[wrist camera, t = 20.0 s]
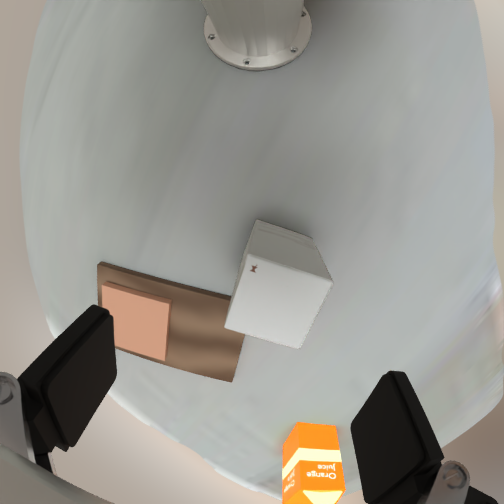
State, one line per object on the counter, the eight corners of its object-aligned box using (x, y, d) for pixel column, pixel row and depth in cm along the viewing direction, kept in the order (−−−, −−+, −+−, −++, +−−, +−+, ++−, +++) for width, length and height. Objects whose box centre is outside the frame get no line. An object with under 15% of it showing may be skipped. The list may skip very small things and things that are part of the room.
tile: (169, 304, 35) (172, 299, 37) (101, 284, 35) (105, 281, 36) (164, 361, 39) (167, 355, 40) (104, 341, 38) (107, 337, 39)
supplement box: (236, 272, 36) (219, 328, 24) (256, 217, 34) (246, 250, 22) (292, 291, 36) (299, 352, 24) (314, 238, 34) (336, 281, 22)
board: (101, 261, 37) (97, 264, 36) (252, 301, 37) (252, 305, 36) (104, 338, 41) (100, 342, 40) (232, 377, 42) (231, 382, 40)
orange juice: (282, 445, 47) (280, 531, 28) (297, 421, 44) (300, 518, 25) (318, 449, 47) (325, 531, 28) (336, 425, 44) (350, 516, 26)
